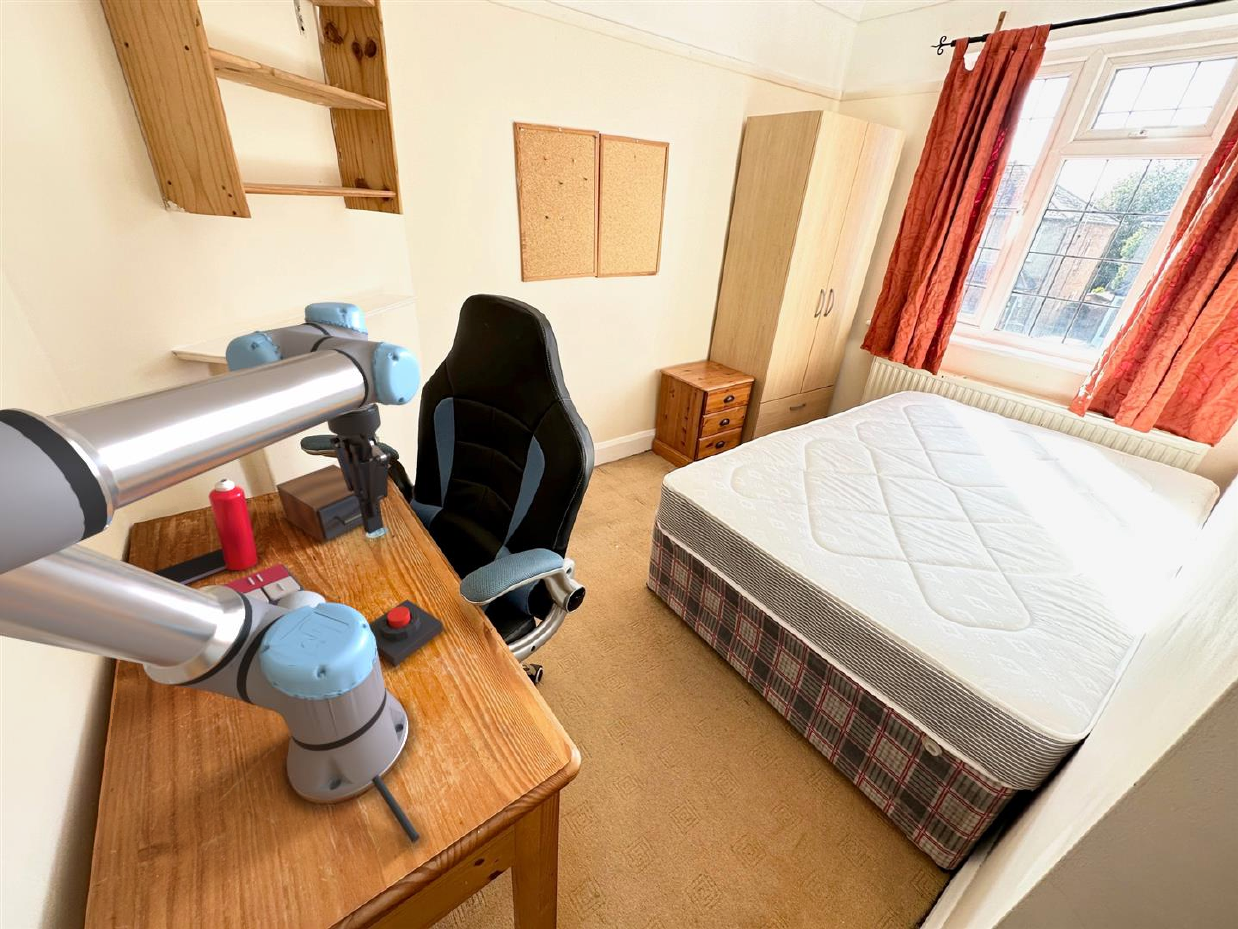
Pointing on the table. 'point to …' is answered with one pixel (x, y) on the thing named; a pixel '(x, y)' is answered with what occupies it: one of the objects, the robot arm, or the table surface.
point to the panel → (404, 634)
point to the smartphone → (194, 568)
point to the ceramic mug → (300, 600)
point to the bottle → (233, 525)
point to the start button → (398, 617)
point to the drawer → (340, 516)
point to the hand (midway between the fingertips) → (374, 529)
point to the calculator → (267, 584)
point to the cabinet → (312, 497)
